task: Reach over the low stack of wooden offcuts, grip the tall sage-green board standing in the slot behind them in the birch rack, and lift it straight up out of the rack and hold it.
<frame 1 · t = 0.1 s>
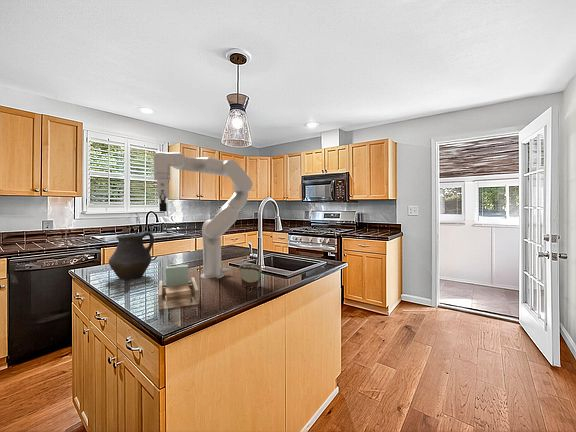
hand: (163, 211, 143), 37 cm above the countertop, tool pointing down, fingers open, 9 cm apart
offcut 3: (177, 293, 114), point 5 cm above the countertop, touching offcut 2
rack: (178, 301, 118), on the countertop
food container: (253, 285, 140), on the countertop
offcut 1: (177, 300, 114), point 1 cm above the countertop, touching offcut 2, rack
pitcher: (133, 277, 154), on the countertop
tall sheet: (177, 293, 123), point 1 cm above the countertop, touching rack
offcut 2: (179, 296, 115), point 3 cm above the countertop, touching offcut 1, offcut 3
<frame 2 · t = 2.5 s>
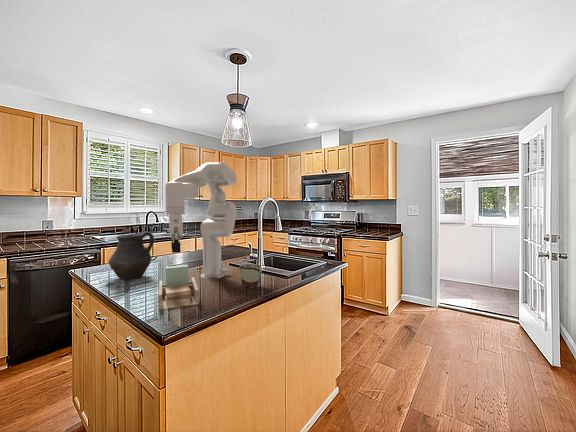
hand: (175, 250, 121), 21 cm above the countertop, tool pointing down, fingers open, 9 cm apart
nothing on the countertop moved.
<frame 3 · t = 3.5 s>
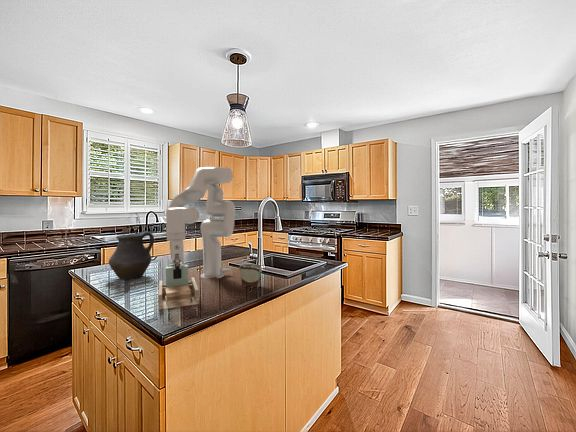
hand: (177, 275, 122), 10 cm above the countertop, tool pointing down, fingers open, 9 cm apart
nothing on the countertop moved.
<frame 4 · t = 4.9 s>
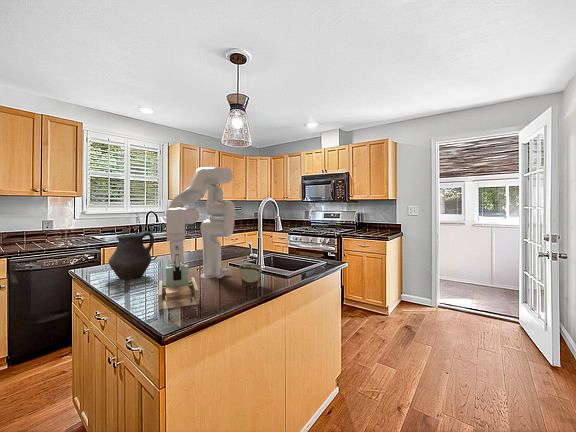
hand: (177, 278, 123), 8 cm above the countertop, tool pointing down, fingers closed on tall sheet, 2 cm apart
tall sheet: (177, 293, 123), point 2 cm above the countertop, touching gripper, rack
everything else where it was.
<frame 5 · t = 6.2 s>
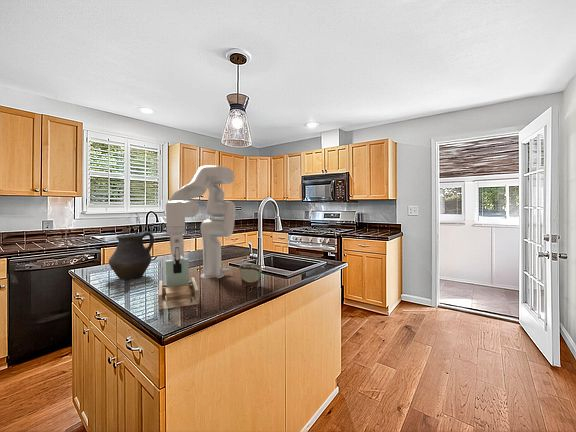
hand: (177, 271, 123), 11 cm above the countertop, tool pointing down, fingers closed on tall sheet, 2 cm apart
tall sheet: (178, 286, 123), point 4 cm above the countertop, touching gripper
everything else where it was.
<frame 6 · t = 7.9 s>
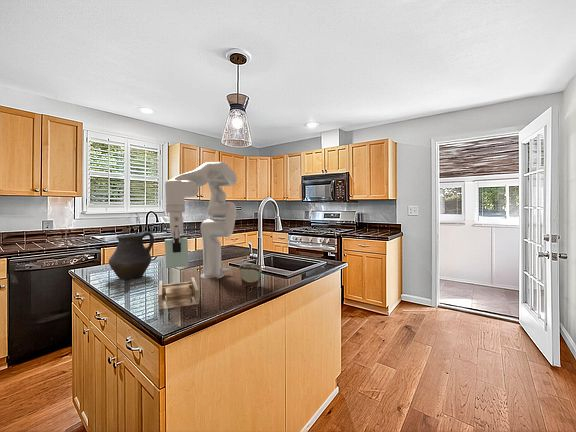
hand: (176, 251, 122), 20 cm above the countertop, tool pointing down, fingers closed on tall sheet, 2 cm apart
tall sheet: (177, 266, 122), point 14 cm above the countertop, touching gripper
everything else where it was.
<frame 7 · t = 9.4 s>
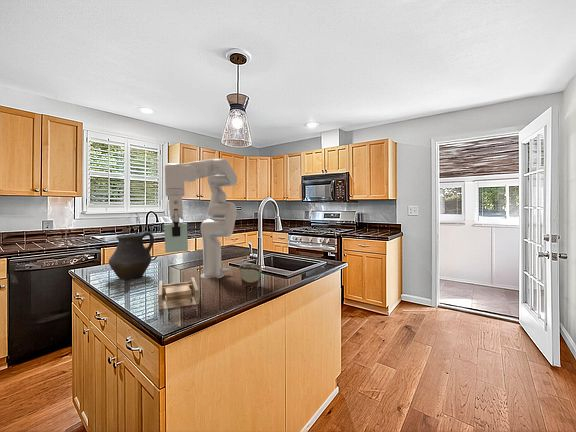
hand: (176, 235, 121), 27 cm above the countertop, tool pointing down, fingers closed on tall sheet, 2 cm apart
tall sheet: (176, 251, 122), point 20 cm above the countertop, touching gripper
everything else where it was.
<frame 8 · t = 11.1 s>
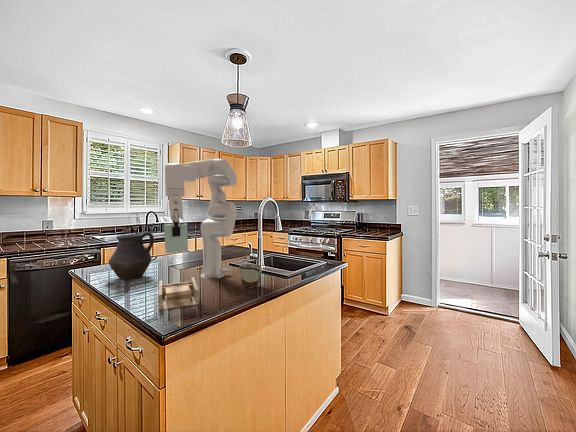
hand: (176, 235, 121), 27 cm above the countertop, tool pointing down, fingers closed on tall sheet, 2 cm apart
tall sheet: (176, 251, 122), point 20 cm above the countertop, touching gripper
everything else where it was.
at the end: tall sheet point 19.9 cm above the countertop; the gripper is holding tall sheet; offcut 3 moved 0.0 cm from its start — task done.
